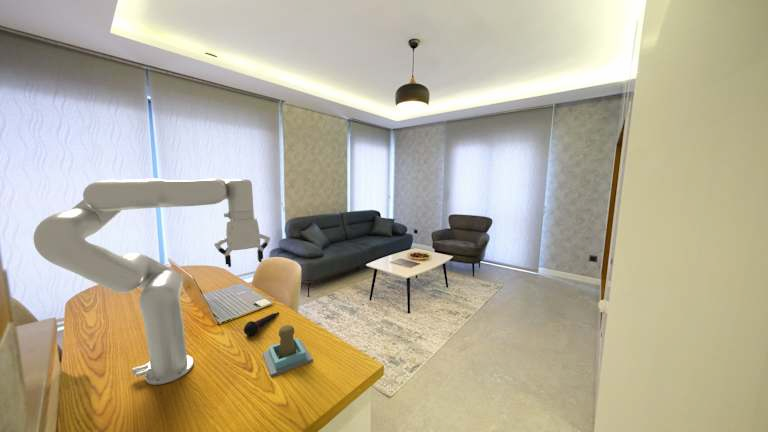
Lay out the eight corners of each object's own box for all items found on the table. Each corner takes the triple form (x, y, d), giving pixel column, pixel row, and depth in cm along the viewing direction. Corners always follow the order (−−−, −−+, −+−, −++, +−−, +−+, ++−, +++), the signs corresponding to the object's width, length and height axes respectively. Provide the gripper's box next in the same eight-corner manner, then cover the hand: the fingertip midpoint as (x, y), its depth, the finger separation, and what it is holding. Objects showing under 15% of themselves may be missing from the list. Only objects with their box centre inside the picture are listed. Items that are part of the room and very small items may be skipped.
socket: (270, 376, 90) (270, 367, 89) (262, 354, 101) (262, 346, 100) (312, 360, 98) (312, 352, 97) (301, 341, 108) (300, 334, 108)
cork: (274, 358, 98) (273, 329, 96) (286, 348, 103) (285, 321, 101) (288, 363, 95) (287, 333, 93) (300, 352, 101) (299, 324, 99)
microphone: (275, 319, 130) (242, 339, 110) (272, 307, 130) (239, 325, 110) (285, 318, 128) (253, 337, 109) (282, 305, 128) (250, 323, 109)
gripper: (212, 219, 87) (217, 271, 90) (270, 215, 97) (273, 262, 100) (211, 215, 93) (215, 264, 96) (266, 212, 103) (268, 256, 106)
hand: (245, 263), depth 98 cm, fingers open, 9 cm apart
